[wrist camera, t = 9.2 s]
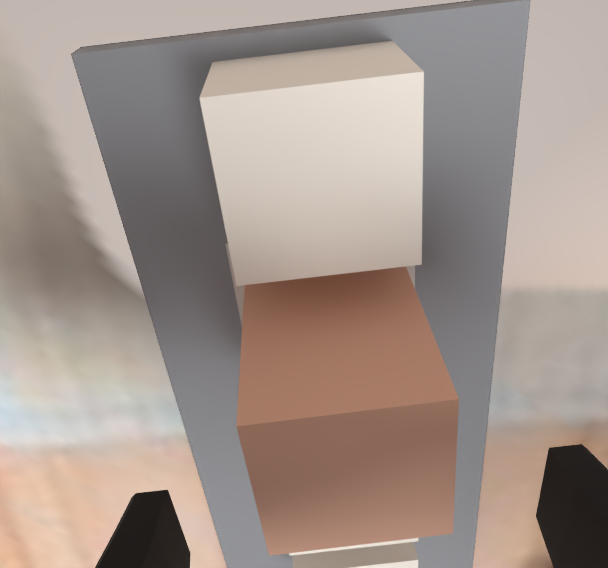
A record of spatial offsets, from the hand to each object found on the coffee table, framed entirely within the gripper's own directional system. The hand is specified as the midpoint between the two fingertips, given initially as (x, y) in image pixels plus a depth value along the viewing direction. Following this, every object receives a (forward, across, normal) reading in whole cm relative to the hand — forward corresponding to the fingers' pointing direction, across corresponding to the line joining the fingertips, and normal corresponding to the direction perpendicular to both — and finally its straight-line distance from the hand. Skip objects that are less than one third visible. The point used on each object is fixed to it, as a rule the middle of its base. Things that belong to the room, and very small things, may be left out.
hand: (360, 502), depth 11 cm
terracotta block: (+6, 0, 0) cm, 6 cm away
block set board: (+7, 0, +5) cm, 9 cm away
